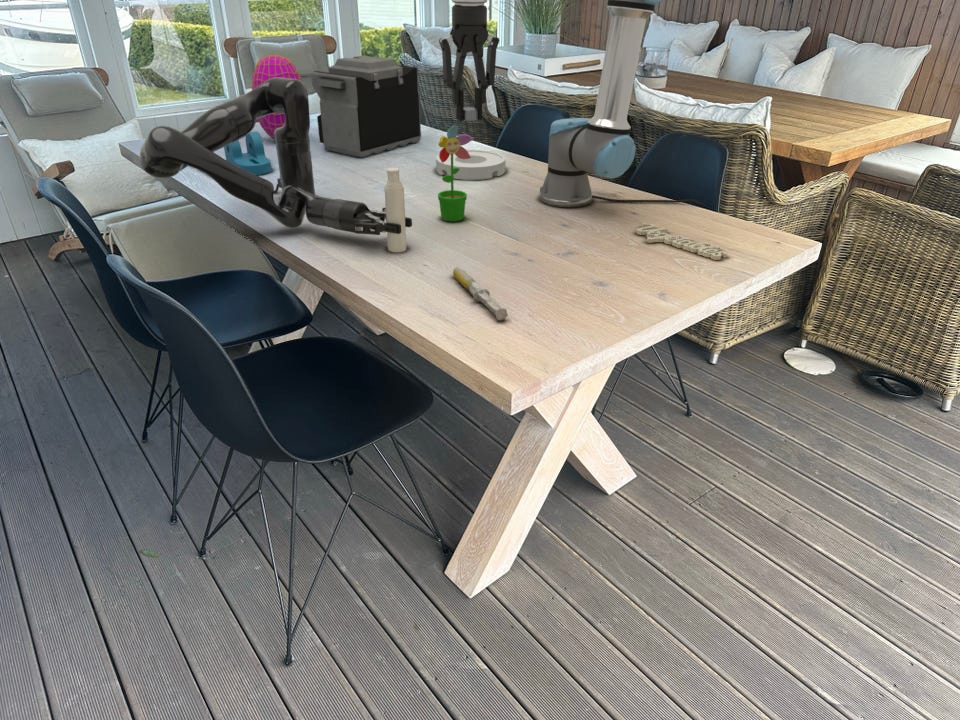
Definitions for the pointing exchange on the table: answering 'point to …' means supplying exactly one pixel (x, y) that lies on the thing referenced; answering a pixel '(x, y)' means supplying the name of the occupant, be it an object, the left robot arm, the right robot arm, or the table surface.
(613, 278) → the table surface
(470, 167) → the ashtray
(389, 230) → the left robot arm
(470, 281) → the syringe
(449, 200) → the potted flower
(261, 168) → the camera mount
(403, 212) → the bottle
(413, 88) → the electronic device
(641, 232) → the decorative sign
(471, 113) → the cap
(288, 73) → the decorative egg
